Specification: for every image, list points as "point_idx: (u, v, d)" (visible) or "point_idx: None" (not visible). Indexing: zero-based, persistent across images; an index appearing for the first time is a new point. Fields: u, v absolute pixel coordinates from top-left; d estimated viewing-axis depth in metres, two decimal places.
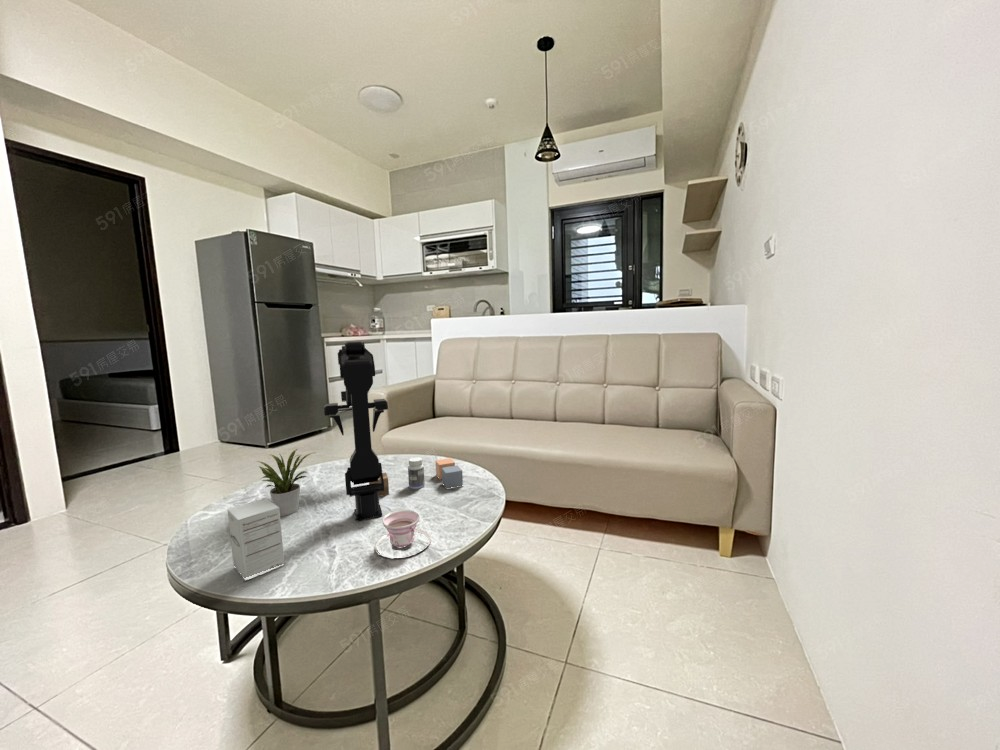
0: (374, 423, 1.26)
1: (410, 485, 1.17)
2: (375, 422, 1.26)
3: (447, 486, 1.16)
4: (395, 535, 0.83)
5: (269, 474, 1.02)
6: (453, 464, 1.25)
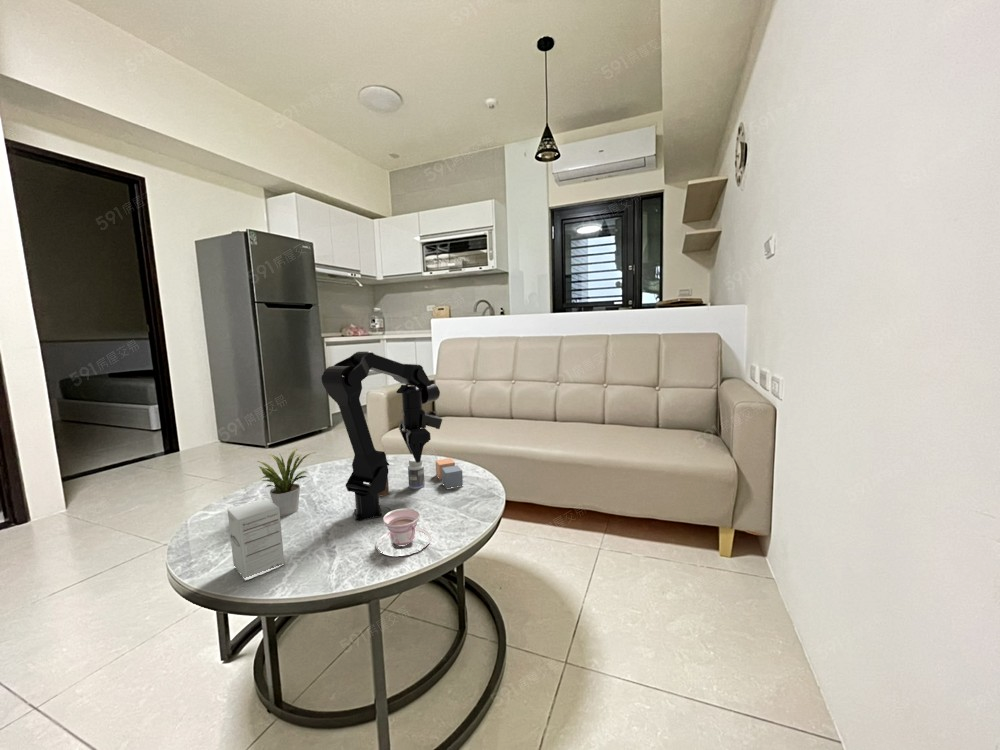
0: (412, 453, 1.13)
1: (410, 485, 1.17)
2: (411, 452, 1.12)
3: (447, 486, 1.16)
4: (395, 533, 0.84)
5: (269, 474, 1.02)
6: (453, 464, 1.25)
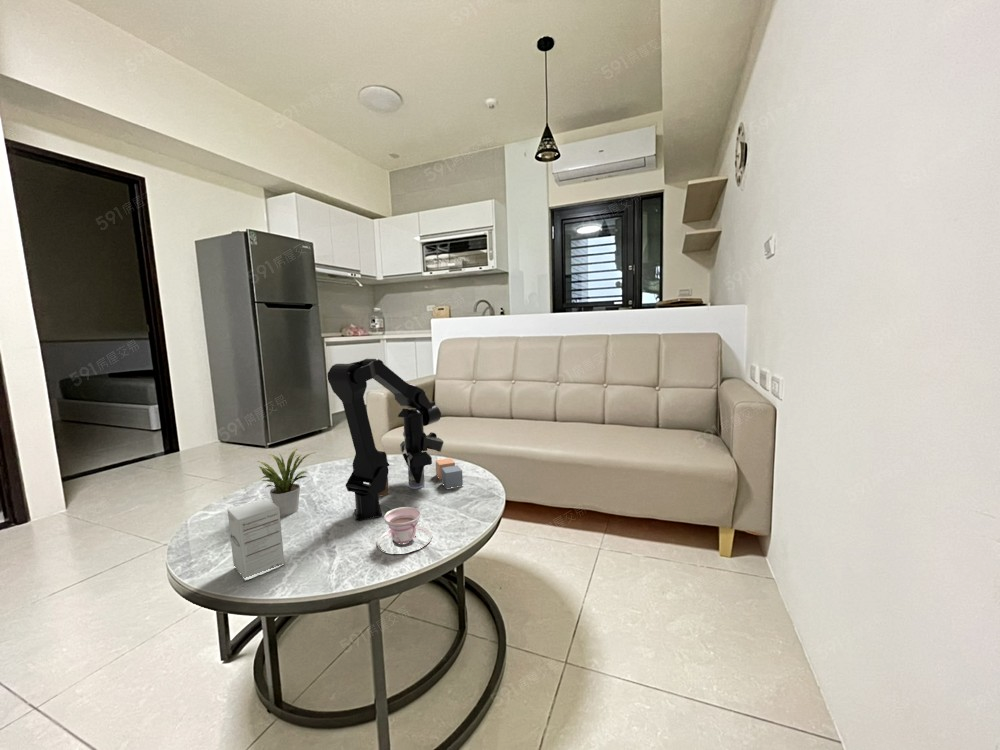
0: (412, 474, 1.15)
1: (410, 485, 1.17)
2: (412, 474, 1.15)
3: (447, 486, 1.16)
4: (396, 531, 0.85)
5: (269, 474, 1.02)
6: (453, 464, 1.25)
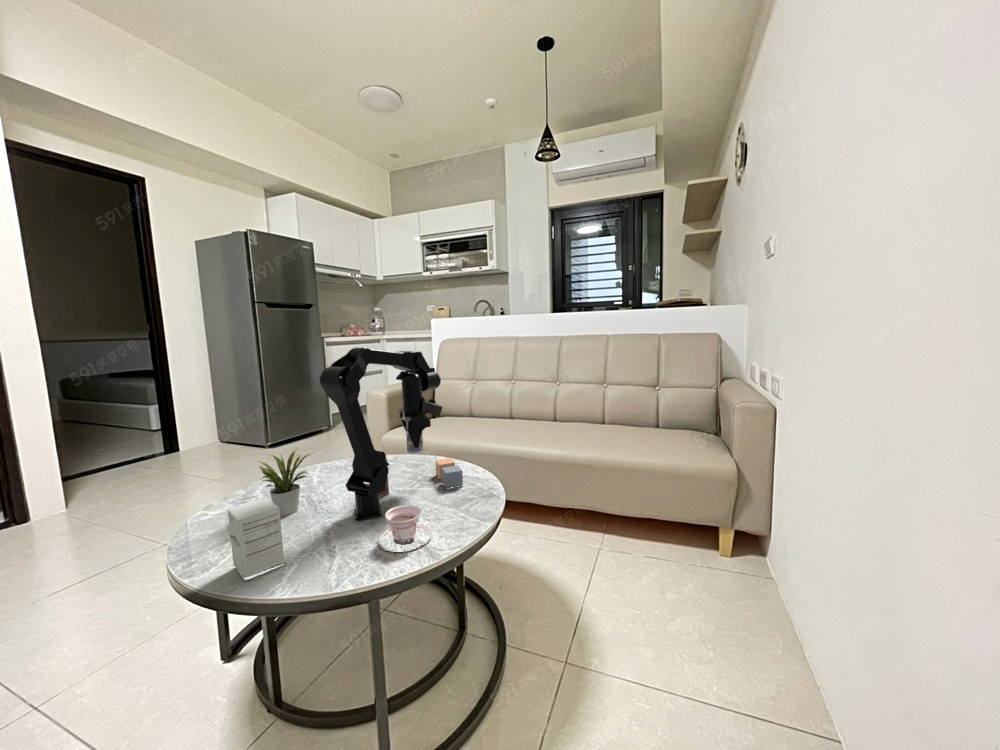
0: None
1: (408, 450, 1.15)
2: None
3: (447, 486, 1.16)
4: (397, 529, 0.86)
5: (269, 474, 1.02)
6: (453, 464, 1.25)
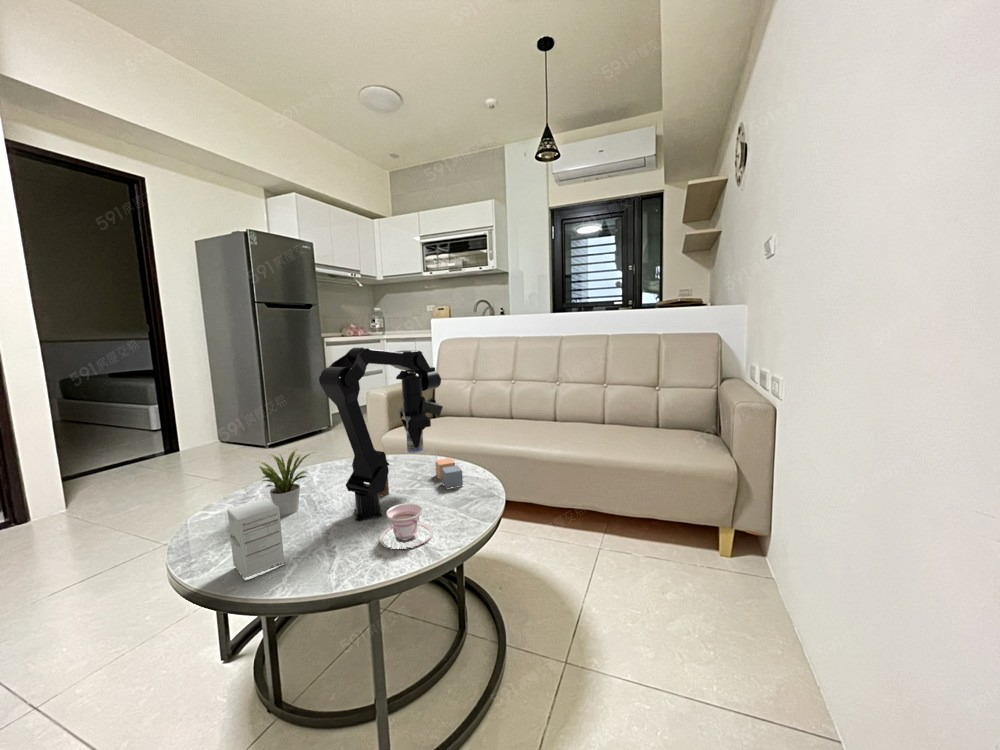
0: None
1: (408, 450, 1.15)
2: (410, 437, 1.13)
3: (447, 486, 1.16)
4: (398, 527, 0.87)
5: (269, 474, 1.02)
6: (453, 464, 1.25)
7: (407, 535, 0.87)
